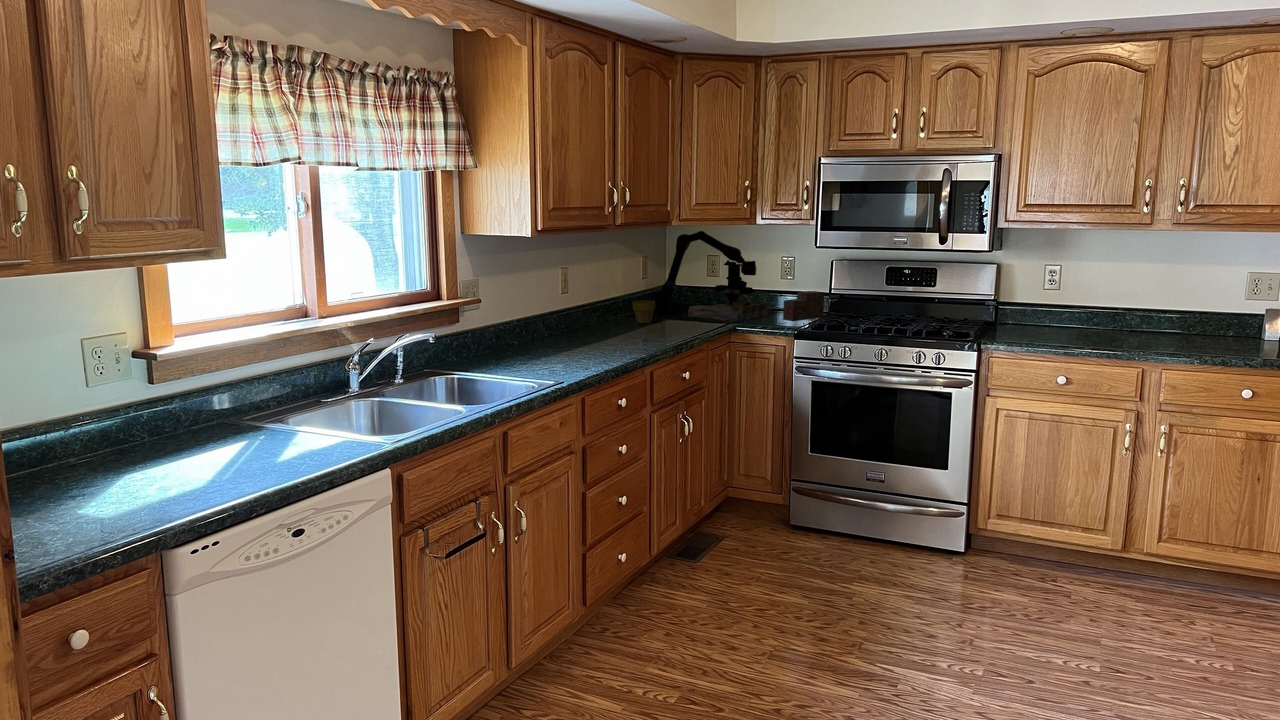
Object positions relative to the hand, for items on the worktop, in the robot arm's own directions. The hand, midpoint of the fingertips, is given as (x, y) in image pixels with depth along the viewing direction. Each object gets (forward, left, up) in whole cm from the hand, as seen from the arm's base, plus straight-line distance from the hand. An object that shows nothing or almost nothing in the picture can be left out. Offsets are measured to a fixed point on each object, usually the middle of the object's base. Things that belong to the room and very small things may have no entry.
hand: (733, 307), depth 437 cm
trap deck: (0, +6, -4) cm, 8 cm away
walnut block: (0, -5, -1) cm, 5 cm away
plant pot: (-44, +19, -4) cm, 48 cm away
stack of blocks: (+14, -30, -5) cm, 34 cm away
